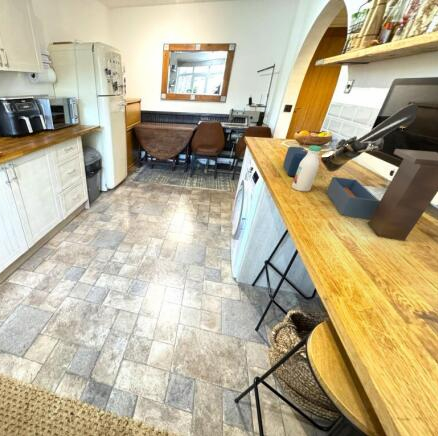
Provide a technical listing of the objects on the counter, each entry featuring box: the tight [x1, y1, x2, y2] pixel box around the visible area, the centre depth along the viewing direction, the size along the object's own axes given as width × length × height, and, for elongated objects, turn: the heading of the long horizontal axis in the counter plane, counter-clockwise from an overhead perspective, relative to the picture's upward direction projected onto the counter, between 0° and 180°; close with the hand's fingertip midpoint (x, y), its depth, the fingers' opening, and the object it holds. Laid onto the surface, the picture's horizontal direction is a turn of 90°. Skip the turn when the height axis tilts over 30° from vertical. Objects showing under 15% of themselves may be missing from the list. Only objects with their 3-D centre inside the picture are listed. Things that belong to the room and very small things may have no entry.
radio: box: [282, 137, 308, 178], centre depth 130 cm, size 21×9×20 cm, turn 162°
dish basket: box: [325, 176, 380, 220], centre depth 98 cm, size 9×23×8 cm, turn 159°
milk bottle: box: [291, 145, 322, 193], centre depth 109 cm, size 8×8×20 cm
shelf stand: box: [367, 148, 438, 242], centre depth 77 cm, size 10×12×26 cm
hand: (368, 139), depth 92 cm, fingers open, 8 cm apart
